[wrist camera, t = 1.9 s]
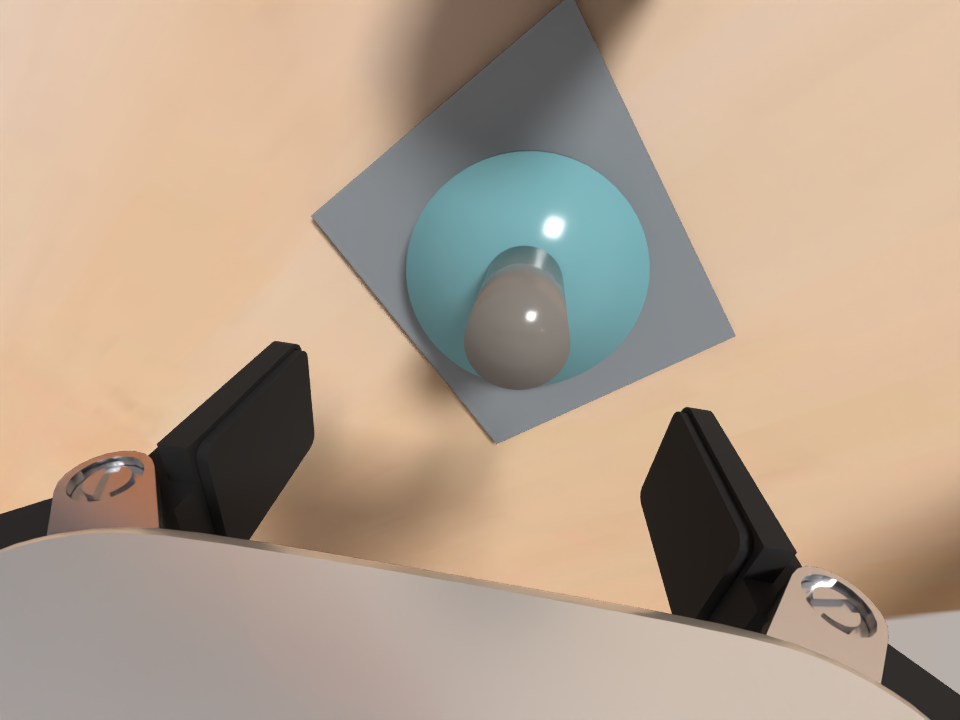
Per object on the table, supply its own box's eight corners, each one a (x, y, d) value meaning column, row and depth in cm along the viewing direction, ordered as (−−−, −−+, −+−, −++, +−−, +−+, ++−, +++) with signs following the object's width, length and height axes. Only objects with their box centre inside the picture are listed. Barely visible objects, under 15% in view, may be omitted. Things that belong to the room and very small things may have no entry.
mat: (732, 332, 21) (735, 336, 21) (496, 439, 27) (496, 444, 26) (570, -4, 16) (571, -7, 16) (314, 214, 21) (310, 216, 21)
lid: (683, 310, 21) (743, 394, 15) (493, 404, 25) (477, 501, 19) (568, 88, 17) (583, 75, 11) (367, 243, 21) (294, 297, 15)
